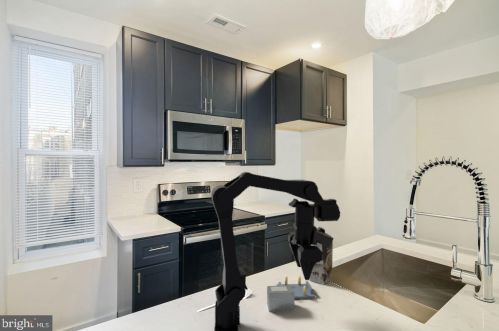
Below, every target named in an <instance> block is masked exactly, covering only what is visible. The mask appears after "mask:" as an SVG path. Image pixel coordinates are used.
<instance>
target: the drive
mask: <svg viewBox="0 0 499 331" xmlns="http://www.w3.org/2000/svg"><path fill="white" fill-rule="evenodd" d="M266 290H267V291H266V304H267V308H268V313H272V312H273V313H275V312H276V313H277V312H295V310H296V309H295V307H296V306H295V303H296V301H295V300H296V299H295V292H294V290H293V288H292V286H291V285H284V286H276V285H267V286H266Z"/></svg>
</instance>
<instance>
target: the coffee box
mask: <svg viewBox="0 0 499 331" xmlns="http://www.w3.org/2000/svg"><path fill="white" fill-rule="evenodd" d="M333 244H334V242H332V244H331V247H330V248H327V247H326V246H324V245H322V244H319V243H317V245H313V244H311V246H317V247H318V248H319V249H320V250H321V251H322V252H323V260H322V261H320V262H317V263H316V264H315V265H314V267H313V270H312V273H311V276H310V278H309V280H308V281H311V282H314V283H317V284H320V285H325V284H326V283H327V282H329V280H331V278H332V277H333V256H334V255H333V254H334V252H333V248H334V247H333V246H334V245H333Z"/></svg>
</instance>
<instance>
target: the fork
mask: <svg viewBox="0 0 499 331" xmlns="http://www.w3.org/2000/svg"><path fill="white" fill-rule="evenodd" d="M245 291H246V292H245V297H244V298H243V299H242V300H246V299H248V298H249V297H250V295H252V293H253V291H252V290H251V289H250V288H248V289H247V290H246V289H245ZM215 304H216V303H214V304H212V305H209V306H206V307H203V308H201V309H198V310H196V312H197V313H199V312H202V311H205V310H209V309H212V308H215Z"/></svg>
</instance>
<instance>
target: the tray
mask: <svg viewBox="0 0 499 331" xmlns="http://www.w3.org/2000/svg"><path fill="white" fill-rule="evenodd" d="M301 279H302V277H301V276H300V275H299V276H297V283H288V276H284V284H282V282H281V281H278V283H277V284H276V285H275V286H284V285H291V286H292V288H293V290H294V292H295V300H305V299H307V300H308V299H309V300H310V299H314V300H315V299H316V298H317V296H316V295H315V292H314V289H313V286H311V284H310V282H309V280H305V283H302V282H301V281H302V280H301Z"/></svg>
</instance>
